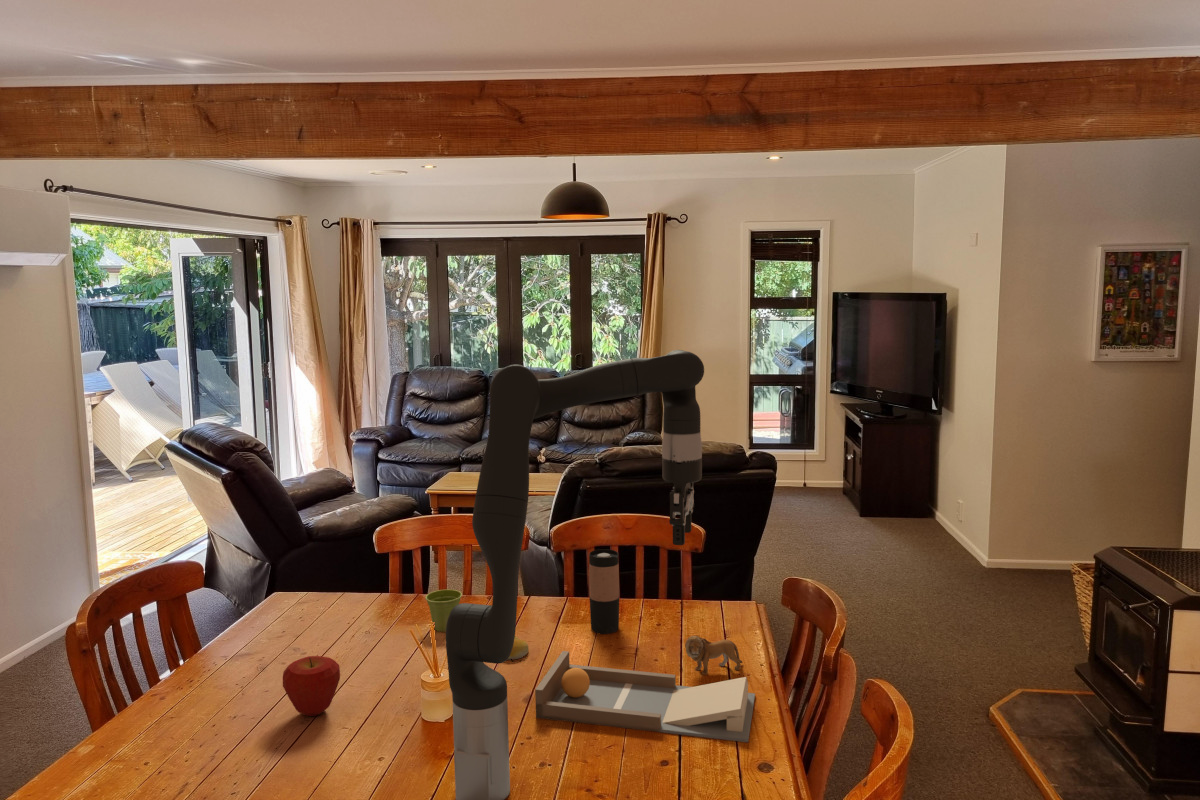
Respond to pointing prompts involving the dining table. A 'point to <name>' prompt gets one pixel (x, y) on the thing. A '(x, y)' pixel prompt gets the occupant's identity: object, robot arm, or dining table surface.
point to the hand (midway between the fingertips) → (682, 538)
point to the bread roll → (518, 649)
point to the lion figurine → (711, 652)
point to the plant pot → (442, 606)
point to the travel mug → (604, 590)
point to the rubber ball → (575, 682)
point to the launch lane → (648, 702)
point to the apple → (311, 683)
